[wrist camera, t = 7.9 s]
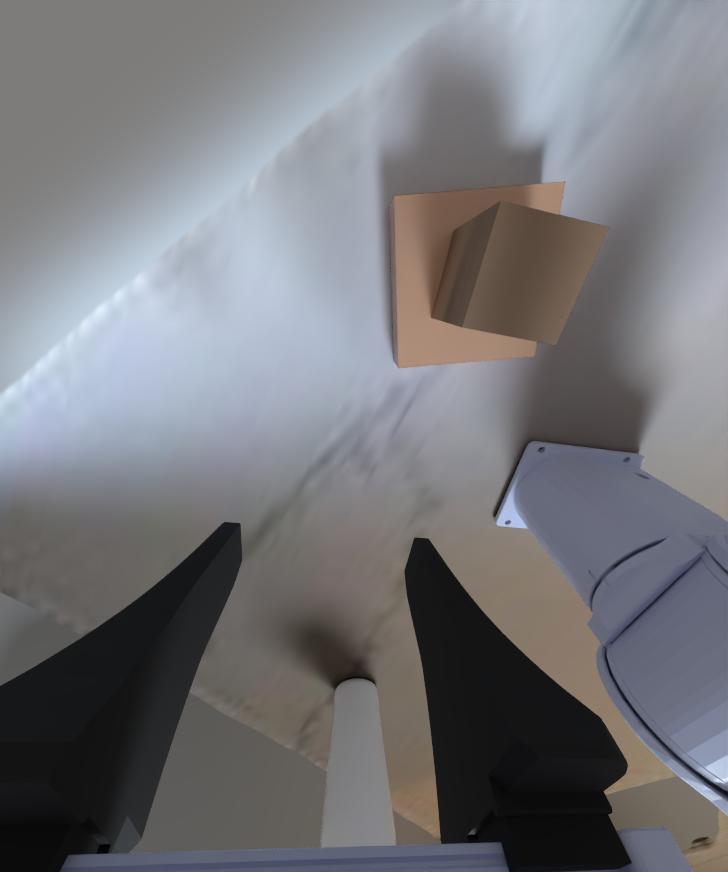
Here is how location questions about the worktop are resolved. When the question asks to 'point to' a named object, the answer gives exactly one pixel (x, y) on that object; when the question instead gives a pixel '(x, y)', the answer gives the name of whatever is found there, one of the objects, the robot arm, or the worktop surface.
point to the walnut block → (516, 272)
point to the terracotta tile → (423, 266)
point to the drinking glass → (357, 772)
